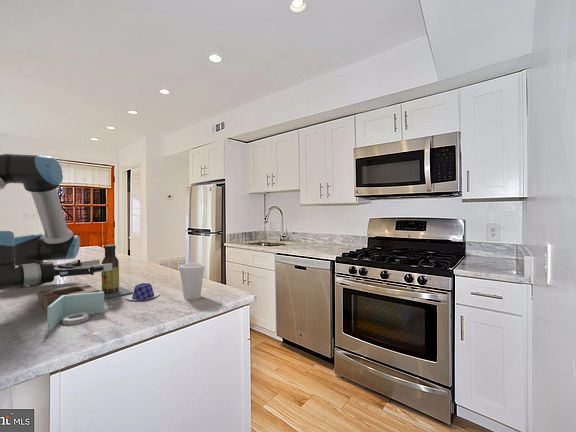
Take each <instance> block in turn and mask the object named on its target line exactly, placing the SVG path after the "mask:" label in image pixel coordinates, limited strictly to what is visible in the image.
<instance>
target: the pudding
mask: <svg viewBox="0 0 576 432" xmlns="http://www.w3.org/2000/svg"><path fill="white" fill-rule="evenodd" d="M159 295H160V292H158V291H154V290H153V286H152V284H151V283H149V282H148V283H147V282H142V283H138V284H135V286H134V290H133V294H128V296H127V295H126V299H127V300H129V301H145V300H150V299H151V300H152V299H154V298H156V297H158V296H159Z"/></svg>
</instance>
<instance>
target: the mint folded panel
mask: <svg viewBox="0 0 576 432" xmlns="http://www.w3.org/2000/svg"><path fill="white" fill-rule="evenodd" d="M104 312H105V300H104V292H94V293H83V294H72V295H62V296H61V297H59V298H58V299H57V300H56V301H54V302H53V303H52V304H51V305H49V306H48V307H47V313H46V314H47V315H46V316H47V331H52V330H53V329H54V328H55V327H56V326H57V325H58V324H59V323H60V322H61V323H62V324H63V325H65V326H66V325H68V326H72V325H78V324H80V323H84V322H86V321H88V320H89V319H90V315H92V314H99V313H104Z"/></svg>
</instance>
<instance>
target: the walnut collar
mask: <svg viewBox="0 0 576 432" xmlns="http://www.w3.org/2000/svg"><path fill="white" fill-rule="evenodd" d="M99 290H100V289H97V288H95V287H93V286H92V285H90V284H88V283H81V284H77V285H71V286H64V287H60V288H59V287H58V288H53V289H47V290H41V291H38V292H37V293H38V295H37V296H38V297H37V298H38V306H39V307H40V308H41V309H42V310H43V311H44V312H45V313H46V314H47V307H48V306H49V305H51V304H52V303H53V302H54V301H56V300H57V299H58V298H59V297H61V296H62V295H72V294H83V293H94V292H99Z"/></svg>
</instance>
